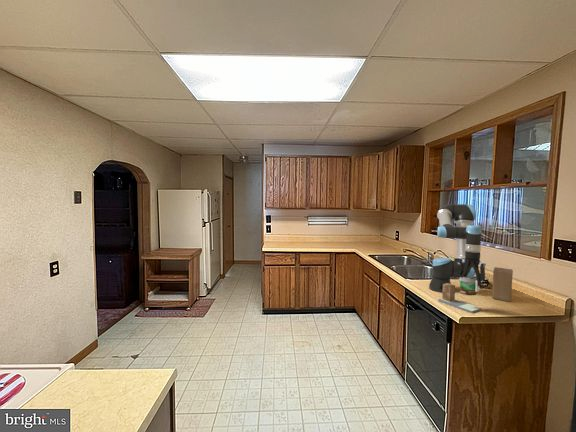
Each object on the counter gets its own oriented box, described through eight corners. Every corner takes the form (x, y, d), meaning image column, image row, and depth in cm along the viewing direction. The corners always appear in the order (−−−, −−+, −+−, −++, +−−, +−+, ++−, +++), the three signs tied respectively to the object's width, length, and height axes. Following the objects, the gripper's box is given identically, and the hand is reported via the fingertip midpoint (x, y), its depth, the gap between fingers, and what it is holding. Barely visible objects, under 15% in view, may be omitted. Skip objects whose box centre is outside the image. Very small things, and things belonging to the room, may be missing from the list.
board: (438, 301, 181) (438, 299, 181) (447, 299, 185) (447, 297, 185) (471, 313, 162) (471, 310, 162) (481, 310, 166) (481, 308, 166)
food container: (467, 296, 162) (468, 279, 162) (458, 293, 168) (459, 277, 168) (483, 295, 166) (484, 278, 165) (474, 291, 172) (474, 275, 171)
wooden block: (492, 295, 195) (494, 266, 193) (511, 298, 188) (512, 269, 187) (491, 298, 187) (493, 269, 186) (510, 302, 180) (512, 272, 179)
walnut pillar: (442, 299, 181) (442, 284, 180) (447, 298, 183) (447, 283, 182) (449, 301, 176) (450, 286, 176) (454, 300, 179) (455, 285, 178)
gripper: (452, 249, 173) (451, 285, 174) (486, 254, 155) (484, 295, 157) (460, 248, 176) (458, 284, 177) (494, 253, 159) (492, 293, 160)
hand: (470, 289), depth 167 cm, fingers closed on food container, 6 cm apart
